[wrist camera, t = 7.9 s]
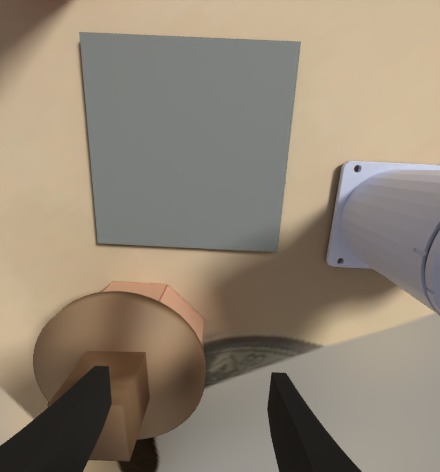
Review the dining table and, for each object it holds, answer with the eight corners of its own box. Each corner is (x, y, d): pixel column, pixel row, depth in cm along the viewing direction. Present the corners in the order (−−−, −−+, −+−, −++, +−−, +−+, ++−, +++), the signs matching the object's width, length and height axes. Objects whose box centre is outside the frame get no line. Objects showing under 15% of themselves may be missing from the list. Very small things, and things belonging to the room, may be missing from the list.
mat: (298, 46, 17) (300, 41, 16) (275, 249, 20) (277, 252, 20) (84, 36, 17) (79, 32, 16) (101, 241, 20) (97, 243, 20)
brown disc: (205, 292, 17) (197, 342, 12) (206, 428, 20) (201, 510, 15) (28, 289, 17) (-48, 337, 12) (57, 425, 20) (6, 505, 16)
